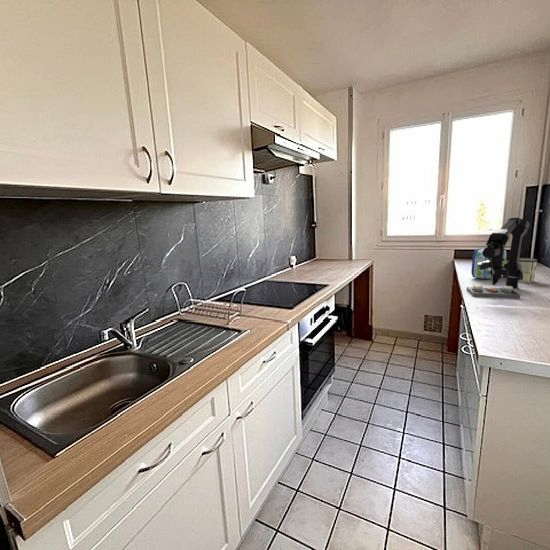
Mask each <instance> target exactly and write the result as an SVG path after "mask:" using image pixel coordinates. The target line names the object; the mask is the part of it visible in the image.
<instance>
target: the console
mask: <svg viewBox="0 0 550 550" xmlns="http://www.w3.org/2000/svg"><path fill="white" fill-rule="evenodd" d="M487 288H488V287H482V289H481V291H473V290H474V288H473V286H466V292H468V293H469V294H470V295H471V297H473V298H492V299H494V298H496V299H515V300H516V299H518V300H520V299H521V297H522V296H521V294H520V293H518V292H517V291H515V290H514V289H513V290H512V292H503V287H496V288H497V292H488V290H487Z"/></svg>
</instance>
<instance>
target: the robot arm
mask: <svg viewBox="0 0 550 550" xmlns="http://www.w3.org/2000/svg"><path fill="white" fill-rule="evenodd" d="M529 228H530V222H529V221H528V220H527V219H522V218H520V217H514V216H513V217H508V218H507V221H506V222H505V223H504V224H503V225H502V226H501V227H500V228H499V229H498V230H494V231H493V232H492V233H490V235H489V237H488V239H487V242H486V244H485V245H486V246H487V247H484V248H485V249H484V250H483V256H484V257H486V258H488V260H487V261H483V262H479V263H477V266H478V269H480V270H483V269H486V268H489V271H487V272H488V273H489V274H490V275H491V283H492V285H493V286H495V285H496V284H497V283H498V281H500V279H501V278H503V279H505V281H506V282H505V286H511V287H513V290H514V289H515V290H517V289H518V287H519V280H523V276H524V275H523V272H522V270H521V265H520V263H519V258H521V257H520V256H521V251H522V250H521V249H522V243H523V237H524V236H525V235H526V234H527V232H528V229H529ZM510 234H511V236H512V237H511V243H510V250H509V257H508V261H506V264H505V265H504V266H502V265H503V261H505V259H504V258H503V257H504V249H505V248H506V245H507V244H508V242H509V240H510V237H509V236H510Z"/></svg>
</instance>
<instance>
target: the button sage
mask: <svg viewBox="0 0 550 550" xmlns="http://www.w3.org/2000/svg"><path fill="white" fill-rule="evenodd" d="M502 288H503V292H512V290H513V291H514V289H513V287H511V286H506V285H503V286H502Z"/></svg>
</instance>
